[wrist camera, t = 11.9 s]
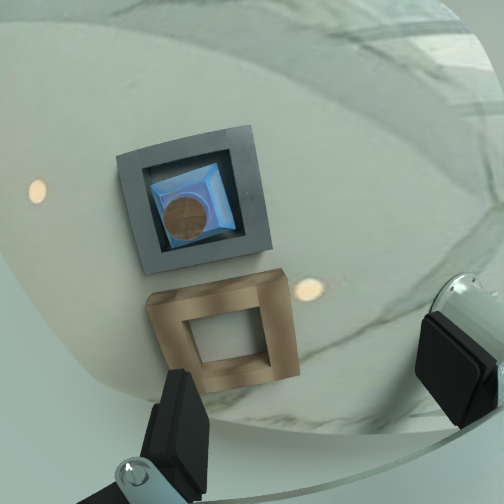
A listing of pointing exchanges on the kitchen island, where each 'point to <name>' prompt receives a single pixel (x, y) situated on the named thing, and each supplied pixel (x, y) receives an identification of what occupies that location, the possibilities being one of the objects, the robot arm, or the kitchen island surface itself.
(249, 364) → the tan square frame
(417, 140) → the kitchen island surface
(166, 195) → the perfume bottle
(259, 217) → the block
